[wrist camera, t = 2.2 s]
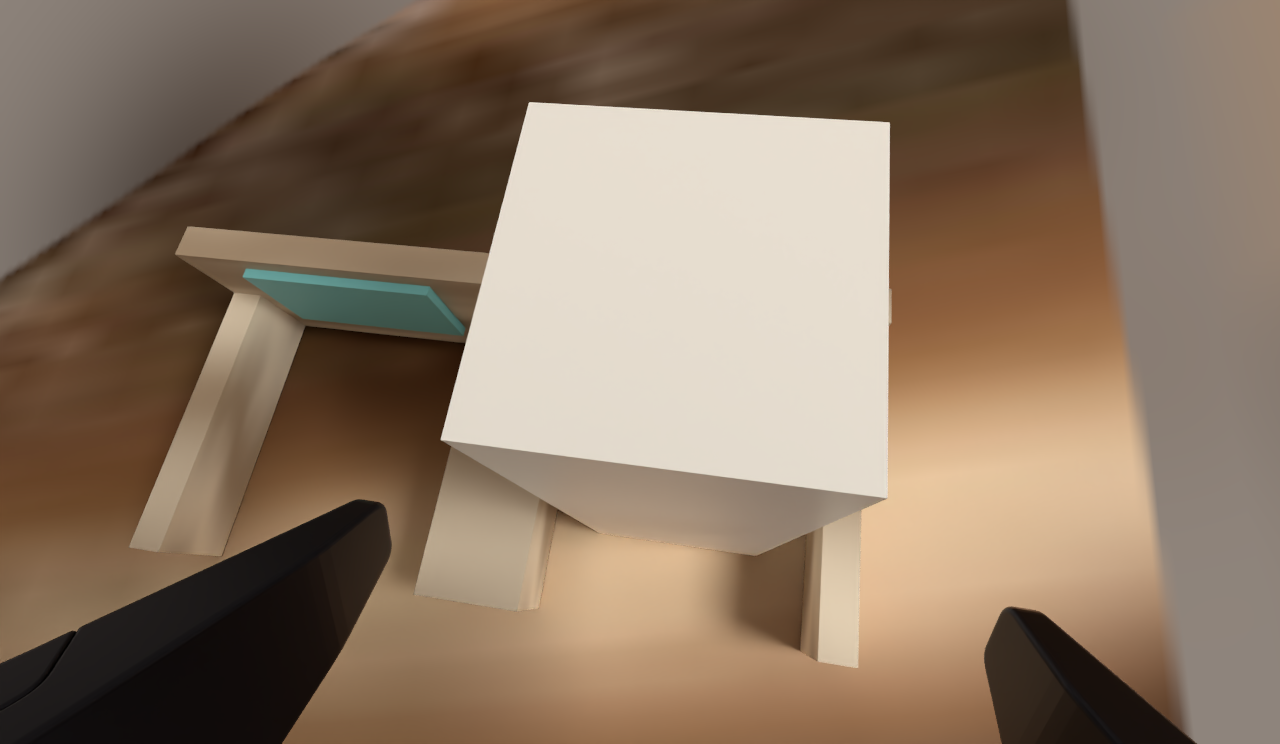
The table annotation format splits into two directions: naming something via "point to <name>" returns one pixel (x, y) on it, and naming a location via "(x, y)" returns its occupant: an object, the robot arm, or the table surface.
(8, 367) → the table surface
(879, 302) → the plug block
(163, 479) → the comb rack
